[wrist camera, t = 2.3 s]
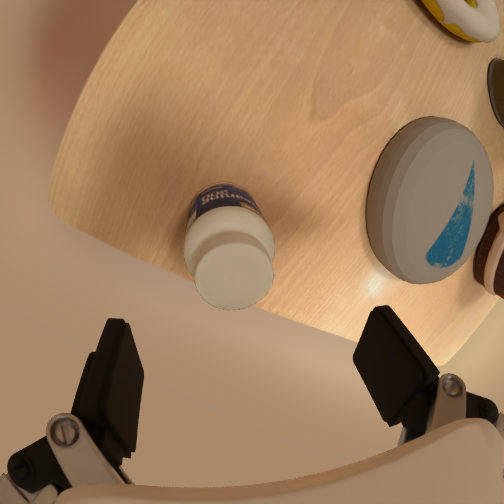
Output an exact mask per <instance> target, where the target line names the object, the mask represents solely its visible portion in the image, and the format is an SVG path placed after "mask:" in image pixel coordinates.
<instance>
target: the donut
mask: <svg viewBox="0 0 504 504" xmlns="http://www.w3.org/2000/svg"><path fill="white" fill-rule="evenodd" d="M421 1H422V2H423V3H424V5H425V6H426V8H427V9H428V10H429V12H430V13H431V14H432V15H433V16H434V17H435V18H436V19H437V21H439V22H440V23H441V24H442V25H443V26H444V27H445V28H446V29H448V30H449V31H451V32H452V33H453V34H455V35H457V36H459V37H461V38H463V39H465V40H468V41H471V42H479V43H480V42H484V43H488V42H492V41H494V40H495V39H496V38H497V37H498V35H499V32H500V23H499V17H498V12H497V8H496V5H495V2H494V0H421Z"/></svg>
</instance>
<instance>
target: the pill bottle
mask: <svg viewBox="0 0 504 504" xmlns="http://www.w3.org/2000/svg"><path fill="white" fill-rule="evenodd" d="M274 255H275V243H274V239H273V235H272V233H271V230H270V228H269V226H268V224H267V223H266V221H265V219H264V217H263V215H262V213H261V212H260V210H259V208H258V207H257V205H256V203H255V201H254V200H253V198H252V197H251V195H250V194H249V193H248V192H247V191H246V190H245V189H243V188H242V187H240V186H238V185H236V184H233V183H228V182H220V183H215V184H212V185H209V186H207V187H205V188H204V189H202V190H201V191H200V192H199V193H198V194H197V195H196V197H195V198H194V200H193V202H192V204H191V207H190V211H189V217H188V222H187V228H186V234H185V240H184V259H185V263H186V266H187V268H188V270H189V272H190V273H191V275H192V276H193V277H194V282H195V285H196V288H197V291H198V293H199V294H200V296H201V297H202V298H203V299H204V300H205V301H206V302H207V303H209V304H210V305H212V306H214V307H216V308H220V309H224V310H240V309H244V308H247V307H250V306H252V305H254V304H256V303H257V302H259V301H260V300H261V299H263V298H264V296H265V295H266V294H267V293H268V291H269V290H270V288H271V286H272V283H273V279H274V270H273V265H272V262H273V259H274Z"/></svg>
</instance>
